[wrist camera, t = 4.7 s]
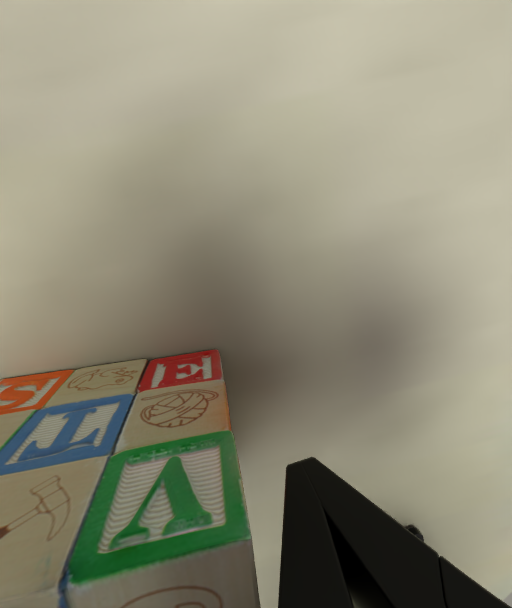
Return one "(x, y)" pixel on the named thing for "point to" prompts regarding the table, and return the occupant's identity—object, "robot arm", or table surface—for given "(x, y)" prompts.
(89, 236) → the table surface
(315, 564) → the robot arm
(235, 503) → the stack of blocks
